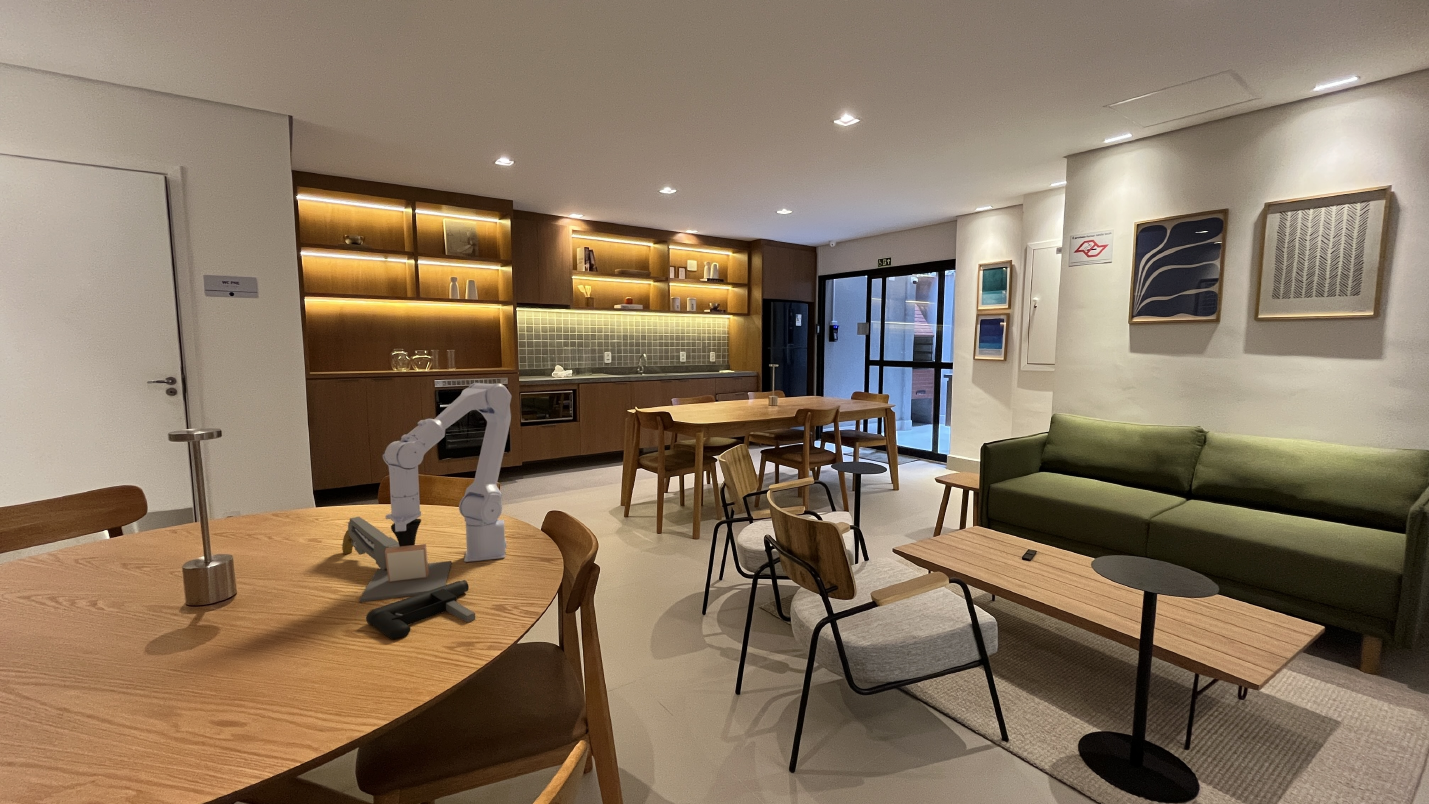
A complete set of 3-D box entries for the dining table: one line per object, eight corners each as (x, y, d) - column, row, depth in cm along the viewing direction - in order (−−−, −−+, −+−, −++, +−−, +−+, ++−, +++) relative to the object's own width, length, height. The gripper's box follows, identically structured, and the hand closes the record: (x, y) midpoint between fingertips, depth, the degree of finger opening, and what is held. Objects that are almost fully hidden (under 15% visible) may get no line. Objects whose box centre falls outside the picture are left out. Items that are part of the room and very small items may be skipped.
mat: (451, 563, 144) (451, 560, 144) (443, 591, 127) (443, 589, 127) (377, 571, 139) (377, 568, 139) (359, 602, 122) (359, 599, 122)
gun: (382, 604, 139) (392, 550, 135) (335, 550, 151) (343, 499, 147) (395, 599, 141) (405, 547, 137) (348, 546, 154) (356, 497, 150)
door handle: (502, 598, 118) (459, 575, 128) (400, 637, 103) (360, 607, 112) (502, 614, 119) (459, 590, 128) (401, 655, 103) (360, 624, 112)
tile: (428, 573, 135) (426, 543, 132) (428, 578, 133) (425, 548, 130) (389, 577, 132) (386, 547, 129) (388, 582, 130) (384, 552, 128)
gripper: (391, 488, 137) (394, 545, 138) (377, 504, 123) (381, 566, 124) (424, 486, 139) (427, 541, 140) (415, 501, 125) (417, 562, 126)
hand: (407, 553), depth 132 cm, fingers closed
